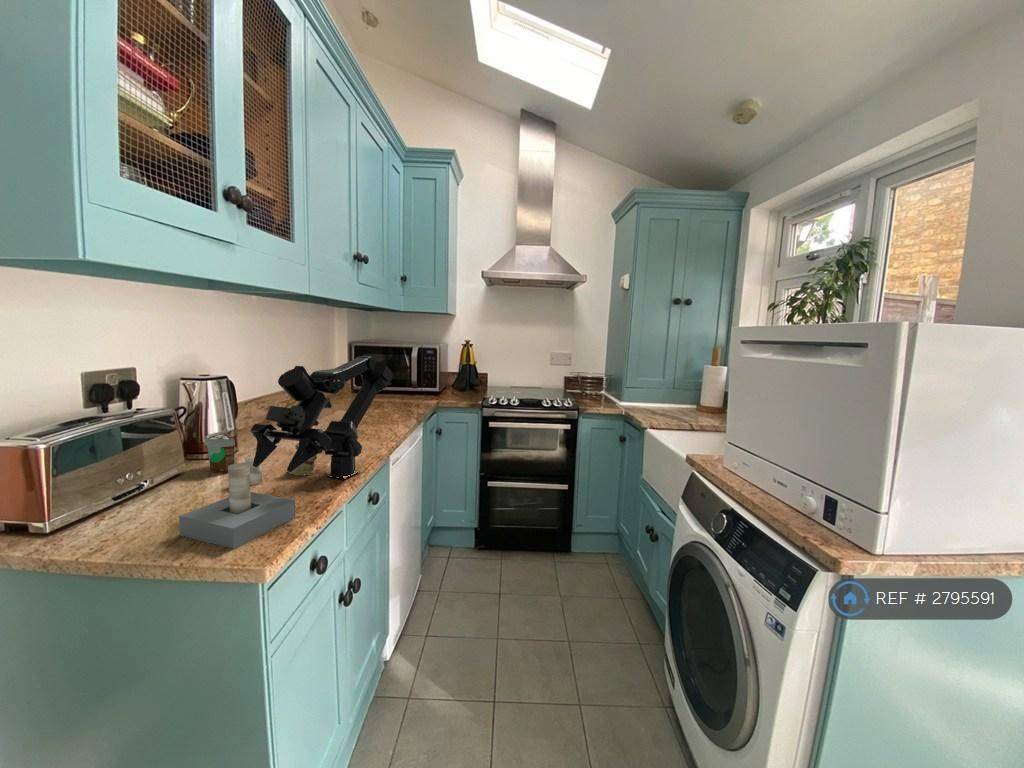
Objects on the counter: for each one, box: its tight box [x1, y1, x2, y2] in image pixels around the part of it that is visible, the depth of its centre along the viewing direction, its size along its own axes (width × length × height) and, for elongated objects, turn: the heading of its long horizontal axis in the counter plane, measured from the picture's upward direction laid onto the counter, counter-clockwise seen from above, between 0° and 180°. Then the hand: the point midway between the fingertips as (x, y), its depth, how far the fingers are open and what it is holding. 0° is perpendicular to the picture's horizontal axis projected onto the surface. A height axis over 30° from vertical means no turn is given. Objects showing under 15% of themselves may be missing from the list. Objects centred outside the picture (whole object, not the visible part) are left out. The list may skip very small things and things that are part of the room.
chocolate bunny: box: [286, 442, 318, 476], centre depth 113 cm, size 6×8×10 cm
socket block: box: [178, 491, 296, 550], centre depth 81 cm, size 14×14×4 cm
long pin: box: [227, 462, 251, 514], centre depth 81 cm, size 4×4×13 cm
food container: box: [203, 430, 236, 474], centre depth 113 cm, size 12×6×10 cm, turn 44°
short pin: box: [244, 455, 263, 486], centre depth 105 cm, size 4×4×7 cm
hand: (271, 468), depth 88 cm, fingers open, 9 cm apart
